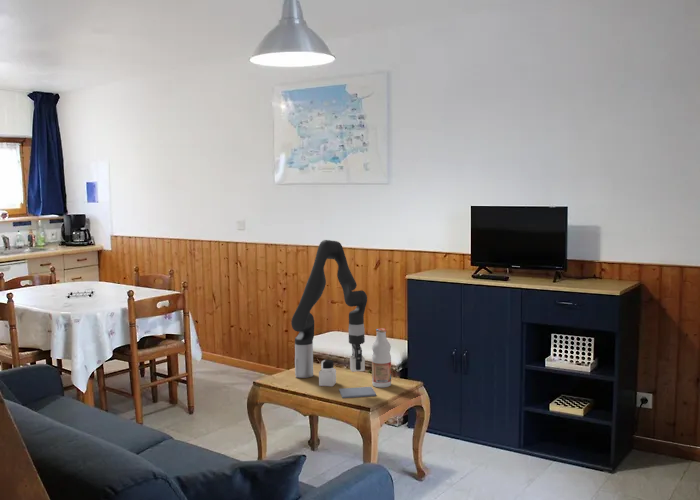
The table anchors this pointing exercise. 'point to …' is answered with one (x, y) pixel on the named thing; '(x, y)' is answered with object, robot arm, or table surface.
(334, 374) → the medicine bottle
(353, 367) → the letter cube
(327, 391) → the table surface
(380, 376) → the white plastic bottle
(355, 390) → the slate mat
